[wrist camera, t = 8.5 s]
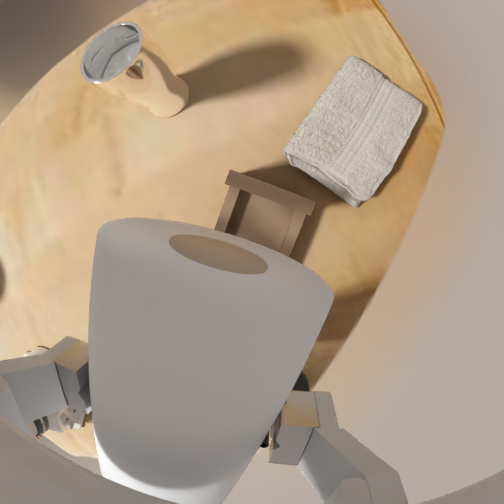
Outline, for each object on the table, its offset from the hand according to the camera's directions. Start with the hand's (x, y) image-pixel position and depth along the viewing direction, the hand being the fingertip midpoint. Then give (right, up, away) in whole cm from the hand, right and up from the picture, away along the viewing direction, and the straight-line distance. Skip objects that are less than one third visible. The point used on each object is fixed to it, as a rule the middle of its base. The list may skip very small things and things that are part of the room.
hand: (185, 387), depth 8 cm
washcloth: (+15, +20, +23) cm, 34 cm away
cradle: (+2, +5, +27) cm, 27 cm away
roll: (0, 0, -1) cm, 1 cm away
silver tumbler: (-9, +24, +24) cm, 35 cm away
